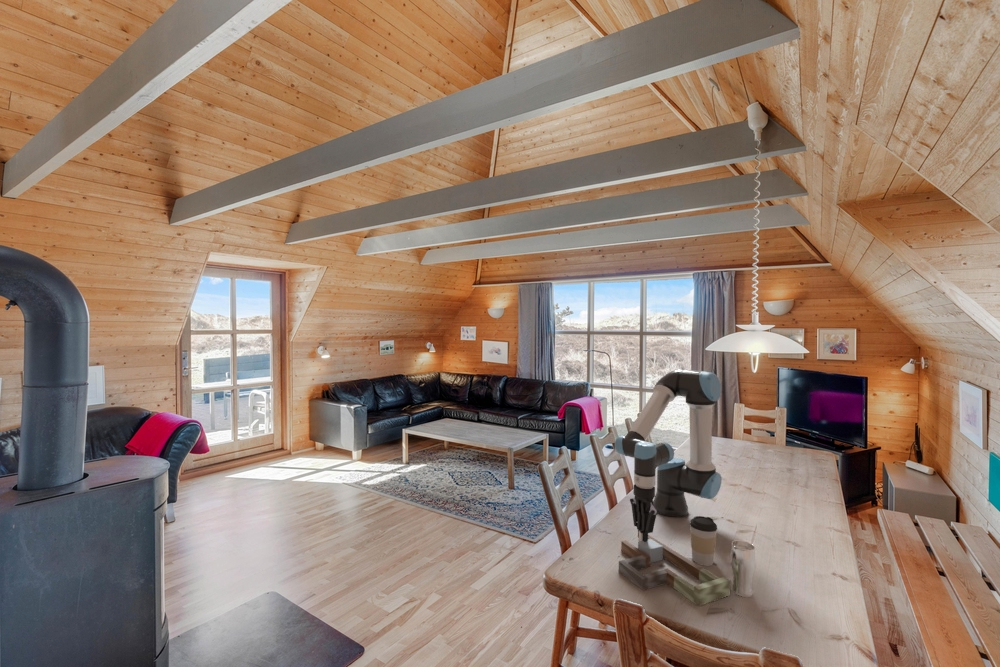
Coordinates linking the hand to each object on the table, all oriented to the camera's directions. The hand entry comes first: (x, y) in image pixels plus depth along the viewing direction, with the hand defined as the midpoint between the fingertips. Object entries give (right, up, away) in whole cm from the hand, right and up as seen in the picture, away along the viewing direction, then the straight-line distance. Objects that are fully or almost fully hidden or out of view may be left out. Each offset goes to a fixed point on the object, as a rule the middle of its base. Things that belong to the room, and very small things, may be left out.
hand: (642, 548), depth 169 cm
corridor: (+1, -2, -14) cm, 14 cm away
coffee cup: (+20, -2, -5) cm, 21 cm away
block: (+2, -2, -3) cm, 4 cm away
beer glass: (+24, -3, -24) cm, 34 cm away
